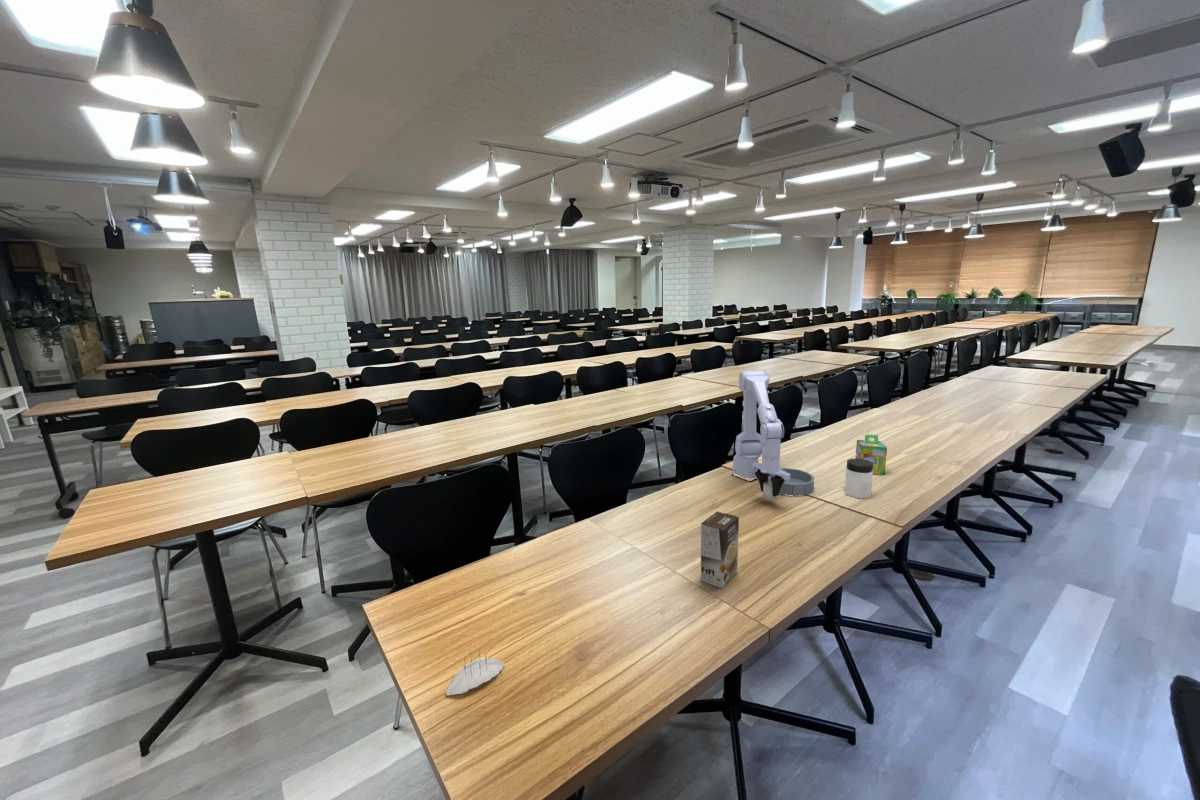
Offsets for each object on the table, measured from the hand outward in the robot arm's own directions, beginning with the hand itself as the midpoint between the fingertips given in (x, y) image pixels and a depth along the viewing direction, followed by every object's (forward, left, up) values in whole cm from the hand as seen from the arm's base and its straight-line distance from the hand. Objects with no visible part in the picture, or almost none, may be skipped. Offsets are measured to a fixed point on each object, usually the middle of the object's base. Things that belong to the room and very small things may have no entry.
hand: (769, 493), depth 163 cm
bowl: (-5, +17, -4) cm, 18 cm away
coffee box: (+22, -46, -4) cm, 51 cm away
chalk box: (+3, +56, -4) cm, 56 cm away
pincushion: (+20, -110, -4) cm, 112 cm away
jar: (+13, +31, -4) cm, 34 cm away
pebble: (0, 0, -1) cm, 1 cm away
